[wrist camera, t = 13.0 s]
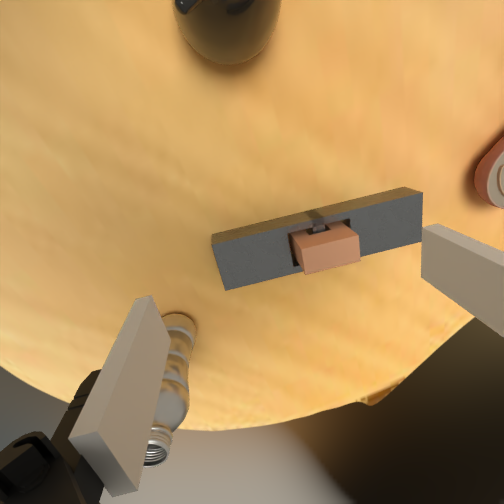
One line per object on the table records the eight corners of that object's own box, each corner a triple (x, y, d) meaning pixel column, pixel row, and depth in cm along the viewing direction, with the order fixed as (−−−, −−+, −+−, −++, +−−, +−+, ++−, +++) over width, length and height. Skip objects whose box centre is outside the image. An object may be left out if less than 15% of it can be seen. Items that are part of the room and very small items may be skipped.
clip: (290, 249, 43) (305, 274, 35) (286, 228, 41) (301, 249, 34) (336, 238, 43) (360, 261, 35) (333, 216, 41) (358, 235, 34)
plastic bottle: (146, 320, 45) (96, 452, 26) (183, 300, 44) (158, 422, 26) (169, 347, 47) (139, 485, 29) (205, 329, 47) (197, 458, 28)
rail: (224, 277, 43) (225, 290, 40) (212, 234, 40) (211, 244, 37) (404, 232, 44) (421, 241, 40) (404, 186, 41) (422, 192, 37)
